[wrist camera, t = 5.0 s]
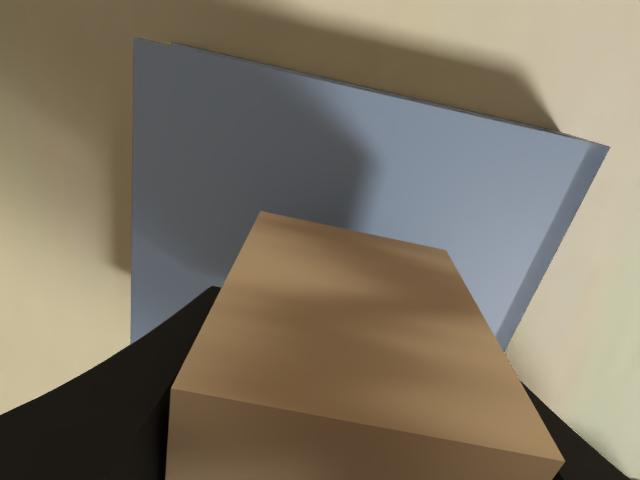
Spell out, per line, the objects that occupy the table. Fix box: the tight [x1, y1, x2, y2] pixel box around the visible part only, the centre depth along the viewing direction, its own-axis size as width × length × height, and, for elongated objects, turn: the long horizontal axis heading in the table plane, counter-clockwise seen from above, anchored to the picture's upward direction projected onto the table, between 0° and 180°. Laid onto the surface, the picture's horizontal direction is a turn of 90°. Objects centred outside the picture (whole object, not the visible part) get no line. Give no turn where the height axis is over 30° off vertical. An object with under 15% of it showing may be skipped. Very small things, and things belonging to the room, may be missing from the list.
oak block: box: [165, 211, 565, 480], centre depth 9 cm, size 5×5×6 cm
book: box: [131, 38, 610, 352], centre depth 15 cm, size 14×11×3 cm
